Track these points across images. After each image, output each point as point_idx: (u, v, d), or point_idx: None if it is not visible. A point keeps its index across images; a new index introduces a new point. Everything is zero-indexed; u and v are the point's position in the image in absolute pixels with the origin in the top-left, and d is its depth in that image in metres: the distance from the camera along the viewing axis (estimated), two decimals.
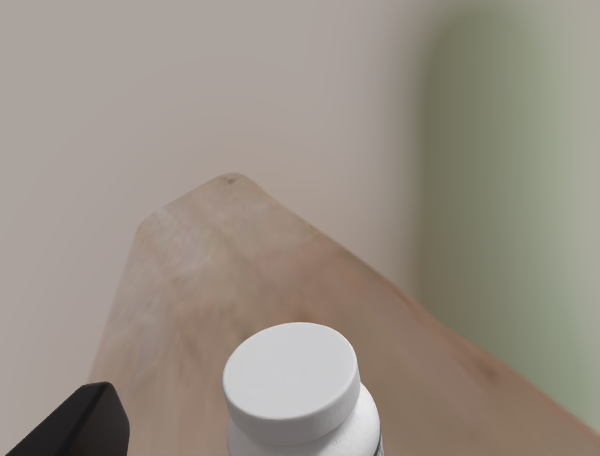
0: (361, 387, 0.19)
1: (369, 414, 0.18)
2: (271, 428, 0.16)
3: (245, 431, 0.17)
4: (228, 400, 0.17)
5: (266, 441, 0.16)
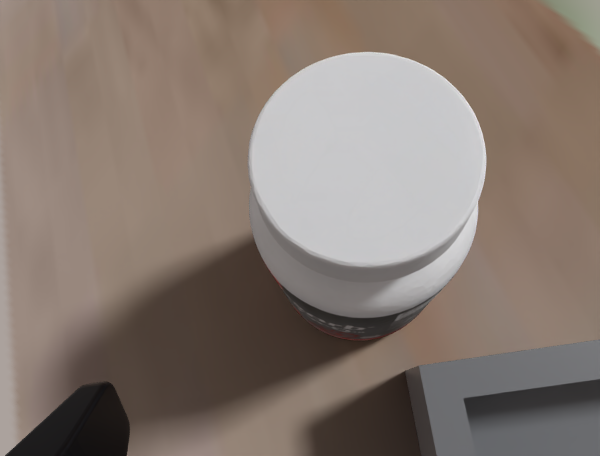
0: None
1: None
2: (352, 272, 0.10)
3: (301, 261, 0.11)
4: (271, 224, 0.10)
5: (337, 278, 0.10)
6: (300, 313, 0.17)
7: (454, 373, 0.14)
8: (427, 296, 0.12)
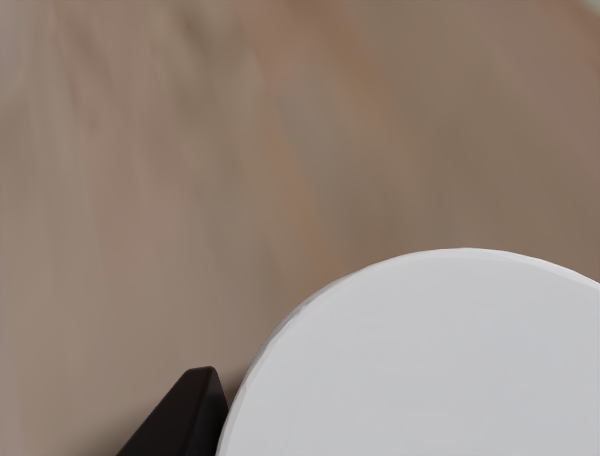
0: None
1: None
2: None
3: None
4: None
5: None
6: None
7: None
8: None
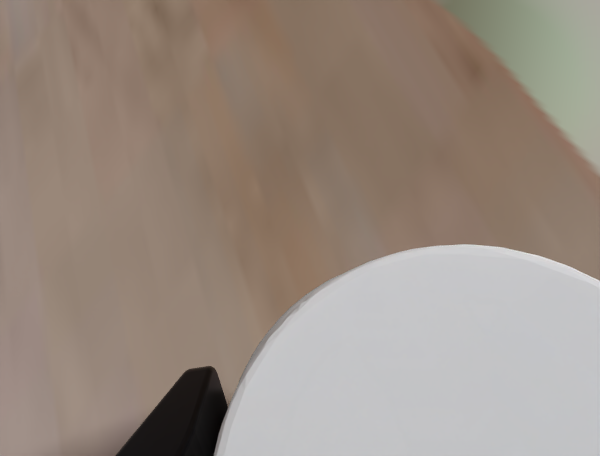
0: None
1: None
2: None
3: None
4: None
5: None
6: None
7: None
8: None
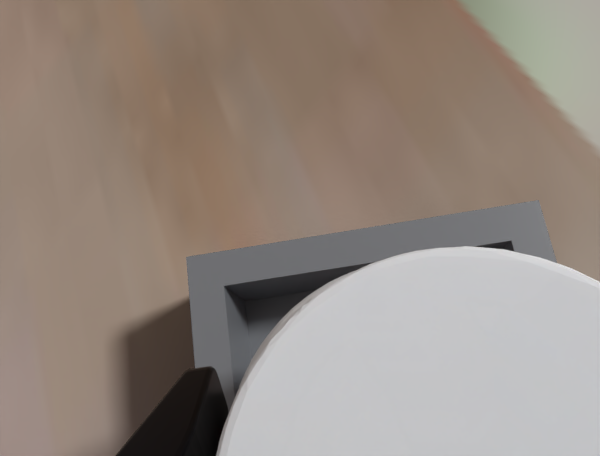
0: None
1: None
2: None
3: None
4: None
5: None
6: None
7: (218, 263, 0.15)
8: None
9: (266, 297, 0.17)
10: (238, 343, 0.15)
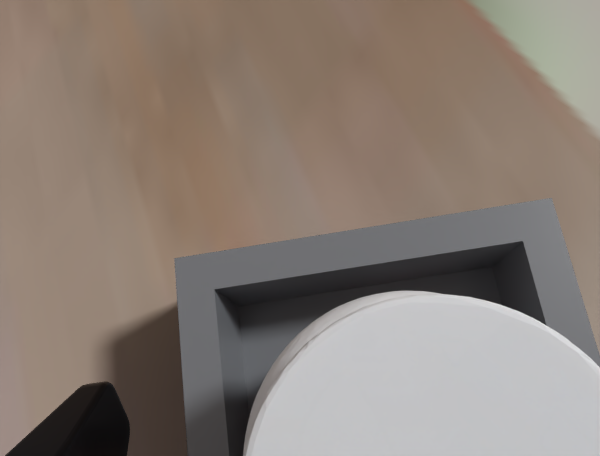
0: None
1: None
2: None
3: None
4: None
5: None
6: None
7: (208, 265, 0.14)
8: None
9: (260, 302, 0.16)
10: (230, 351, 0.14)
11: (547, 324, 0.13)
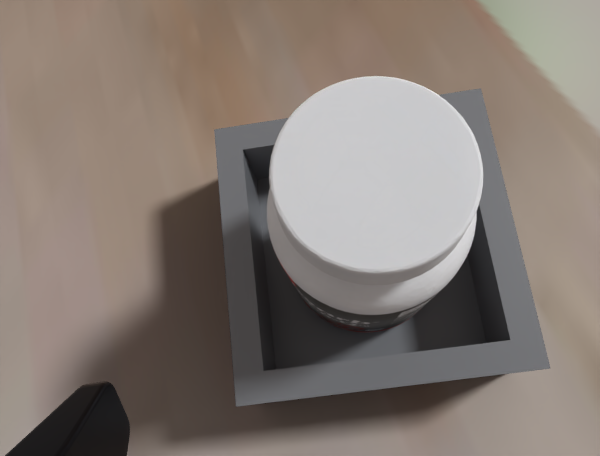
0: None
1: None
2: (360, 276, 0.11)
3: (315, 265, 0.12)
4: (289, 232, 0.11)
5: (347, 280, 0.12)
6: (310, 306, 0.19)
7: (238, 134, 0.20)
8: (428, 296, 0.13)
9: None
10: (252, 198, 0.20)
11: None
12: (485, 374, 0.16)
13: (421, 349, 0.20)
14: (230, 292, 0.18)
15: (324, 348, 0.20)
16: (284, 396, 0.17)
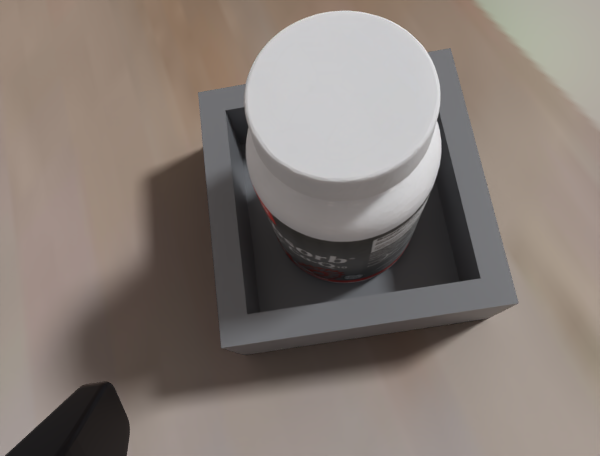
0: None
1: (434, 137, 0.14)
2: (329, 188, 0.12)
3: (288, 184, 0.13)
4: (263, 149, 0.12)
5: (318, 197, 0.13)
6: (291, 256, 0.19)
7: (221, 96, 0.21)
8: (396, 221, 0.14)
9: None
10: (235, 158, 0.21)
11: (443, 123, 0.19)
12: (457, 310, 0.17)
13: None
14: (214, 243, 0.19)
15: (307, 300, 0.21)
16: (267, 336, 0.18)
